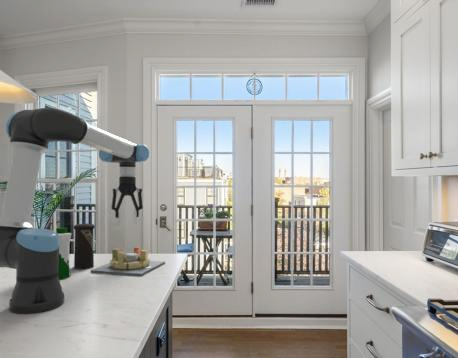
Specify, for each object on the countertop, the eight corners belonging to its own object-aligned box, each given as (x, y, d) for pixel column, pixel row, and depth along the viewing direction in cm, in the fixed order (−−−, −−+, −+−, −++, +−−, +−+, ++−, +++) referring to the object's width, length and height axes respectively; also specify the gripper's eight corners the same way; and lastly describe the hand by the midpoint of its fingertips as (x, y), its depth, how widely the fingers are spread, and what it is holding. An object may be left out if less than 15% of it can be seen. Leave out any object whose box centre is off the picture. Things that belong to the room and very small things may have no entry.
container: (89, 269, 156) (90, 224, 156) (69, 269, 156) (70, 224, 156) (97, 265, 165) (97, 222, 165) (78, 265, 165) (78, 222, 165)
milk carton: (73, 276, 144) (73, 228, 144) (53, 282, 136) (53, 230, 136) (59, 274, 148) (59, 226, 148) (38, 279, 140) (39, 229, 140)
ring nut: (137, 270, 149) (137, 254, 150) (103, 268, 153) (103, 252, 153) (154, 262, 166) (154, 247, 166) (122, 260, 169) (123, 245, 170)
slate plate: (141, 276, 145) (141, 261, 145) (90, 272, 150) (90, 258, 151) (165, 263, 168) (165, 251, 168) (120, 260, 174) (120, 248, 174)
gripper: (146, 176, 175) (145, 222, 174) (104, 176, 166) (104, 224, 165) (150, 176, 168) (149, 224, 168) (106, 175, 159) (106, 226, 159)
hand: (127, 224), depth 166 cm, fingers open, 7 cm apart
